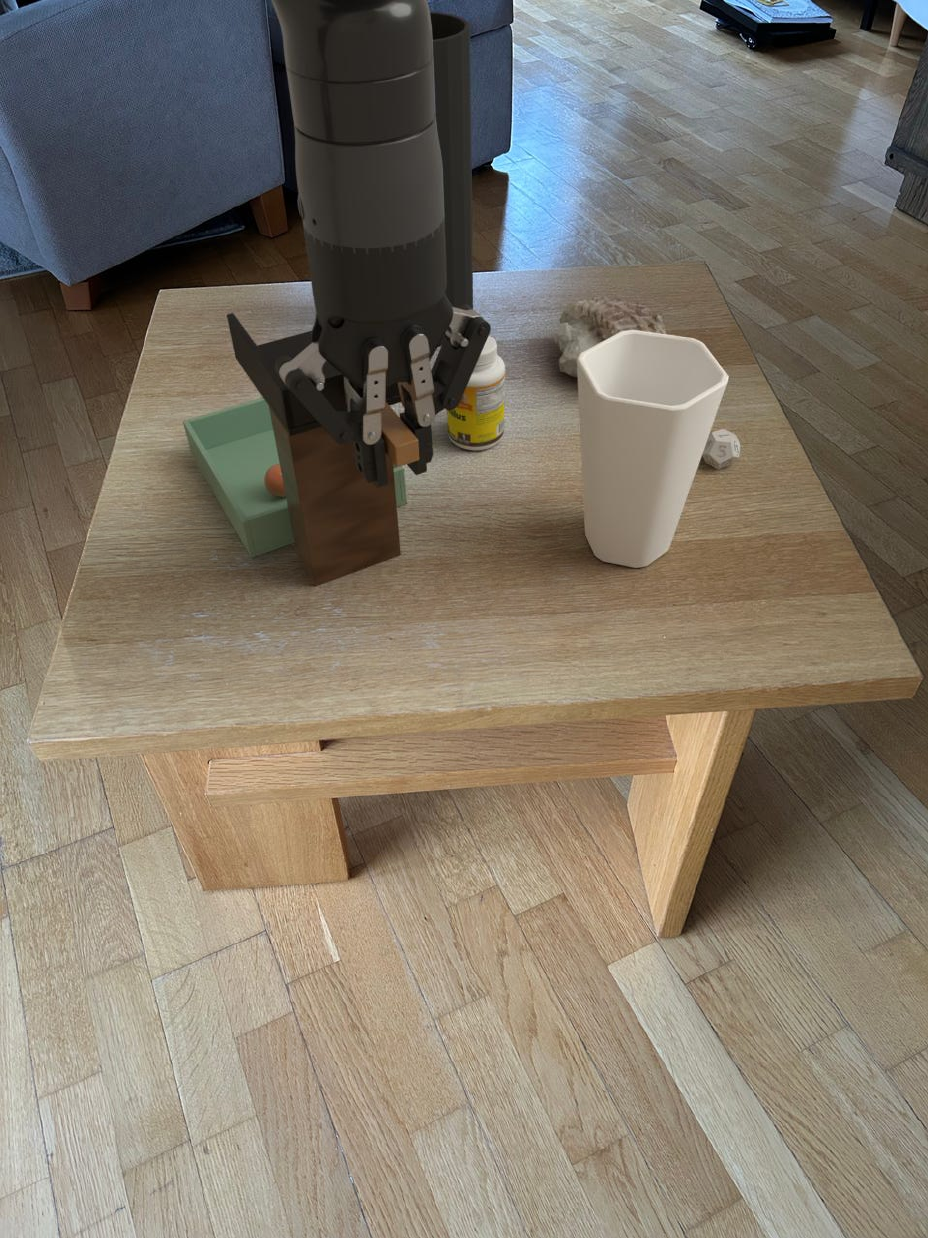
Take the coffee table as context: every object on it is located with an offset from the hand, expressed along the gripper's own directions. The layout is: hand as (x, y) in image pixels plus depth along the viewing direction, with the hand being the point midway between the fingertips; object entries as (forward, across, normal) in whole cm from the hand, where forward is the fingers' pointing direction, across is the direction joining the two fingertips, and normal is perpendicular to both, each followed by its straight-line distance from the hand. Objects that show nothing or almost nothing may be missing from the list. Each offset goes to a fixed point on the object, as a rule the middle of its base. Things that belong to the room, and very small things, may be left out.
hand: (396, 472), depth 63 cm
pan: (-1, 0, +7) cm, 7 cm away
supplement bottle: (+17, +18, +22) cm, 33 cm away
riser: (+17, 0, +12) cm, 21 cm away
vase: (+17, +24, +44) cm, 53 cm away
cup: (+17, +22, +2) cm, 28 cm away
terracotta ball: (+15, -2, +22) cm, 27 cm away
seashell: (+17, +36, +26) cm, 48 cm away
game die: (+17, +36, +7) cm, 40 cm away
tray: (+17, 0, +24) cm, 30 cm away
